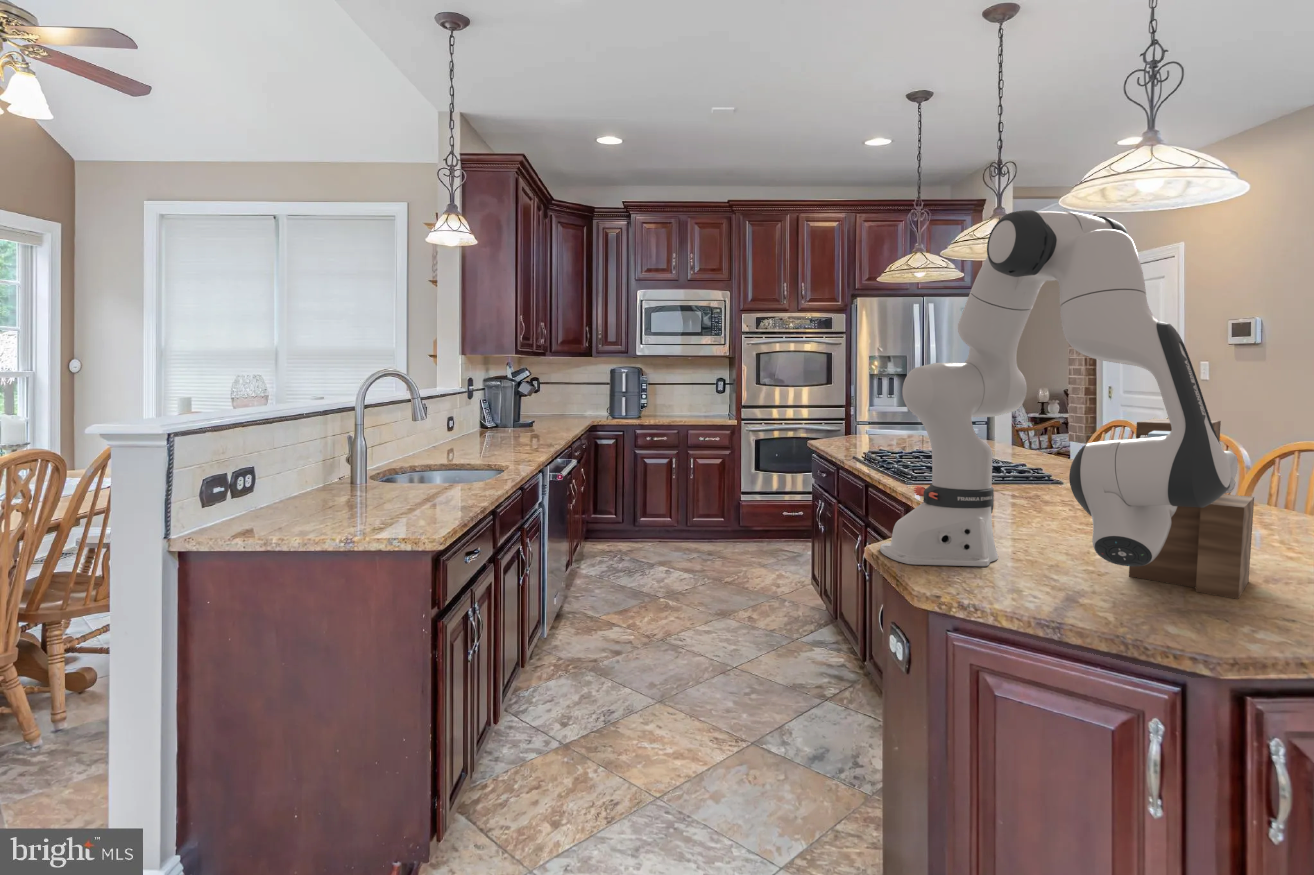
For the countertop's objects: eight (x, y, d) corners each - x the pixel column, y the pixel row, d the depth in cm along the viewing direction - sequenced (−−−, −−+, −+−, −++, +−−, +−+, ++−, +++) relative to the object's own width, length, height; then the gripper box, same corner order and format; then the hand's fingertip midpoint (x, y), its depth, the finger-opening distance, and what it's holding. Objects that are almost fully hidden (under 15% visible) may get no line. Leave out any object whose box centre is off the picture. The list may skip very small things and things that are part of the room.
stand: (1238, 598, 112) (1249, 426, 109) (1125, 579, 123) (1133, 422, 120) (1250, 577, 123) (1260, 421, 121) (1146, 562, 134) (1153, 418, 132)
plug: (1173, 455, 112) (1174, 434, 112) (1147, 454, 115) (1148, 433, 115) (1194, 442, 126) (1195, 423, 125) (1170, 441, 128) (1171, 422, 128)
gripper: (1231, 478, 99) (1245, 426, 107) (1071, 466, 114) (1093, 421, 121) (1232, 513, 102) (1245, 459, 109) (1075, 497, 116) (1097, 451, 124)
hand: (1164, 439), depth 116 cm, fingers closed on plug, 3 cm apart
